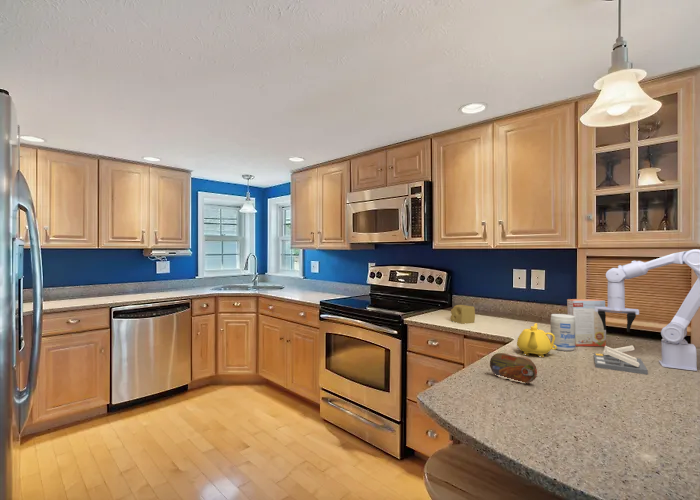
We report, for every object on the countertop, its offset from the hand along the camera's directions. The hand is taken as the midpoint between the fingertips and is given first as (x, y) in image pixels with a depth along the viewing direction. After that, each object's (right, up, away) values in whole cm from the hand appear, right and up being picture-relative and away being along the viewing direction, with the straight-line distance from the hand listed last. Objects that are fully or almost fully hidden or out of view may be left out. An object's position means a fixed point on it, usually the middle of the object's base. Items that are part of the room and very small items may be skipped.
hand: (616, 330), depth 148 cm
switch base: (-8, -10, -12) cm, 17 cm away
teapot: (-31, -11, +3) cm, 33 cm away
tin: (-55, -11, -27) cm, 62 cm away
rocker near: (-11, -6, -17) cm, 21 cm away
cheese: (-40, -12, +74) cm, 85 cm away
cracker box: (-1, -11, +18) cm, 21 cm away
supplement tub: (-15, -11, +12) cm, 22 cm away
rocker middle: (-7, -6, -12) cm, 15 cm away
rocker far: (-4, -6, -7) cm, 10 cm away
